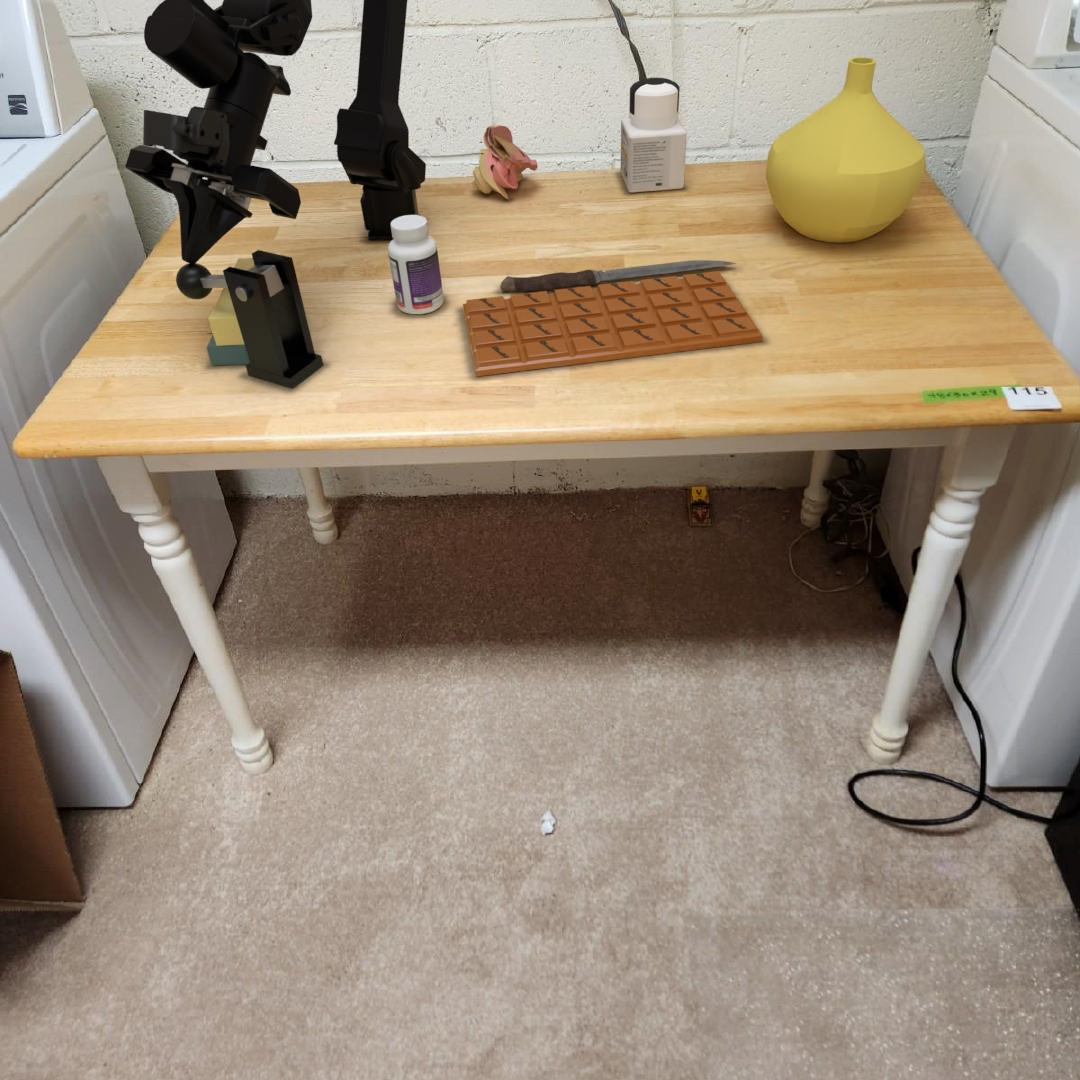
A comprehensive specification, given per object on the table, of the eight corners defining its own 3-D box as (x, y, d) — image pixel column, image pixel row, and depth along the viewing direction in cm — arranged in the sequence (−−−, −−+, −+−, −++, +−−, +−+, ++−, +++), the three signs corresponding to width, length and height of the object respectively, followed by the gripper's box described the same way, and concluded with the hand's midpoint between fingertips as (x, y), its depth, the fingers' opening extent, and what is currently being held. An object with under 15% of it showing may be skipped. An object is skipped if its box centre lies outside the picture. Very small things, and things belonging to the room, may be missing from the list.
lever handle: (178, 305, 95) (162, 272, 93) (203, 290, 98) (188, 257, 96) (267, 307, 89) (252, 271, 87) (291, 290, 91) (277, 255, 89)
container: (620, 173, 132) (621, 75, 124) (673, 168, 133) (678, 71, 124) (628, 193, 127) (630, 93, 118) (684, 189, 127) (690, 88, 118)
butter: (245, 284, 107) (238, 258, 104) (273, 282, 107) (266, 256, 104) (216, 346, 96) (207, 318, 94) (246, 344, 96) (238, 317, 94)
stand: (244, 377, 95) (212, 271, 88) (283, 350, 99) (255, 246, 91) (289, 391, 93) (260, 283, 85) (326, 362, 97) (302, 256, 89)
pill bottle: (451, 296, 107) (441, 214, 100) (432, 318, 103) (421, 234, 97) (409, 290, 108) (396, 209, 102) (389, 312, 104) (374, 229, 98)
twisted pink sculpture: (475, 211, 126) (446, 147, 126) (507, 219, 135) (481, 160, 135) (529, 175, 122) (499, 108, 122) (559, 186, 131) (532, 124, 130)
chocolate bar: (463, 309, 104) (462, 297, 103) (720, 279, 107) (721, 267, 106) (476, 376, 93) (475, 364, 93) (761, 341, 96) (763, 329, 95)
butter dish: (286, 298, 108) (281, 281, 107) (260, 363, 97) (255, 345, 96) (242, 300, 108) (237, 283, 107) (211, 366, 98) (205, 347, 96)
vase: (847, 273, 106) (881, 97, 93) (729, 226, 117) (744, 62, 104) (940, 226, 114) (983, 58, 102) (821, 186, 125) (846, 30, 112)
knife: (729, 259, 110) (730, 248, 110) (738, 271, 108) (739, 261, 107) (498, 285, 108) (497, 274, 107) (502, 299, 106) (501, 288, 105)
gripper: (106, 59, 89) (58, 213, 89) (250, 78, 82) (197, 246, 82) (189, 119, 99) (146, 257, 100) (324, 141, 92) (277, 290, 93)
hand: (187, 262), depth 93 cm, fingers closed
